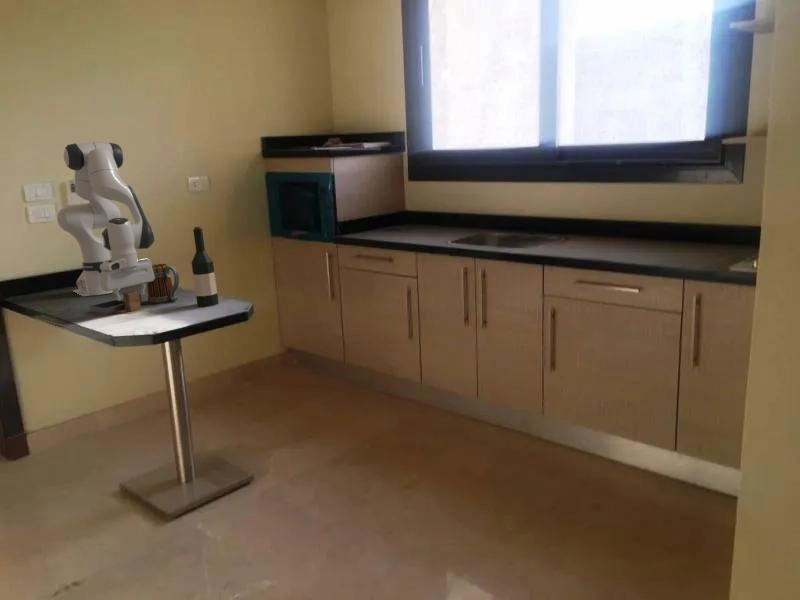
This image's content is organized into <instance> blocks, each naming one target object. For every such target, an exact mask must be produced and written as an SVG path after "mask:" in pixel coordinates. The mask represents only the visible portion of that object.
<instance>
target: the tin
mask: <svg viewBox="0 0 800 600" xmlns="http://www.w3.org/2000/svg"><path fill="white" fill-rule="evenodd" d="M89 309H90V310H89V311H90V313H93V314H97V315H102V316H108V315H112V314H116V313H120V312H119V311H123V310H125V304H124V301H122V300H121V301H118V300H117V299H113V300H110V301H109V300H108V301H106V302H100V303H97V304H92V305H89Z"/></svg>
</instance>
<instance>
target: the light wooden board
mask: <svg viewBox="0 0 800 600" xmlns="http://www.w3.org/2000/svg"><path fill="white" fill-rule="evenodd" d="M147 310H149V308H144V307H141V310H138V311H134V312H128V311H126V310H123V311H119V312H118V313H120V314H126V315H132V314H135V313H140V312H145V311H147Z"/></svg>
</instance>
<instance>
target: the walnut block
mask: <svg viewBox="0 0 800 600" xmlns="http://www.w3.org/2000/svg"><path fill="white" fill-rule="evenodd" d="M122 295H123V298H124V304H125V310H126V311H128V312H134V311H138V310H141V308H142V306H141V303H140V300H139V292H138V291H136V290H131V291H126V292H123V293H122Z"/></svg>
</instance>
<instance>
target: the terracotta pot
mask: <svg viewBox="0 0 800 600" xmlns="http://www.w3.org/2000/svg"><path fill="white" fill-rule="evenodd" d="M122 296H123V294H122ZM139 300H140V304H143V298H142V295H139ZM122 301H124V298H123V300H122Z"/></svg>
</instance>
